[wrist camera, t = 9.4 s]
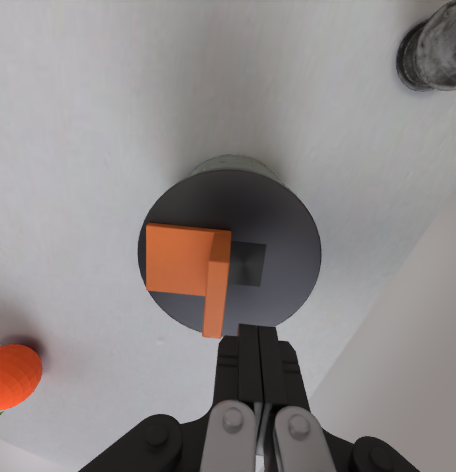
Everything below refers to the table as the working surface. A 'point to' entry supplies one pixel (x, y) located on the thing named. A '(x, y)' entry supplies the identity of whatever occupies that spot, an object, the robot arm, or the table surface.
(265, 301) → the green lidded canister
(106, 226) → the table surface
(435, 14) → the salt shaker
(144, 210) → the table surface
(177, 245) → the lid slider
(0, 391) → the clementine
